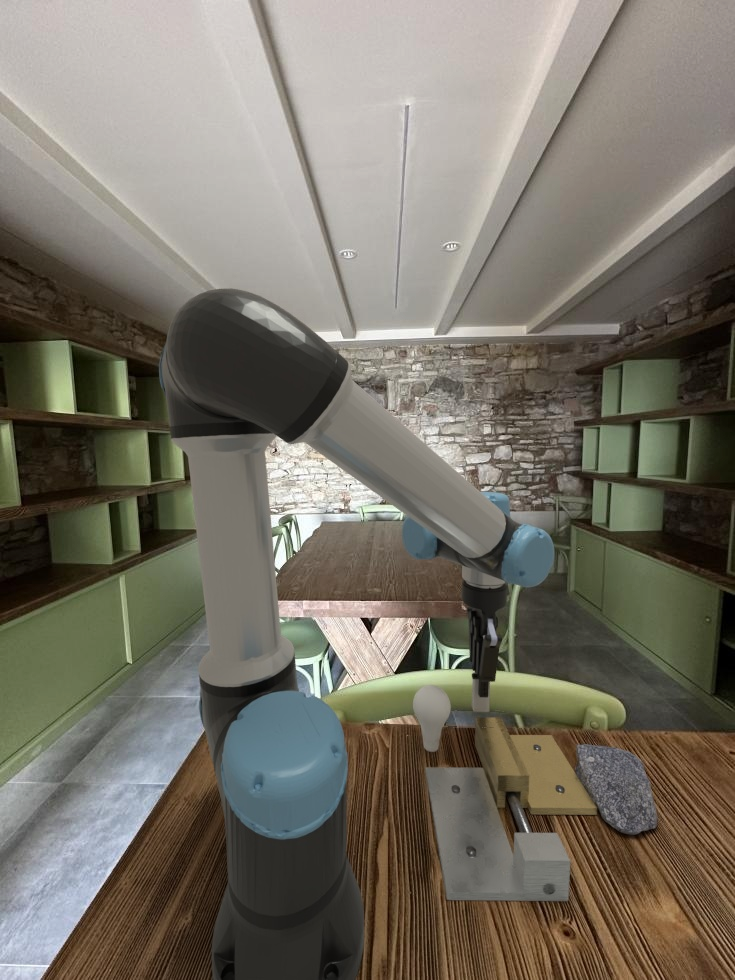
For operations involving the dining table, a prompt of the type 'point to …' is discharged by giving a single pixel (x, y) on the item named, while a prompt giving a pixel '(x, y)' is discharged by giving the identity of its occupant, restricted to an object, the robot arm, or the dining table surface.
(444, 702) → the lightbulb
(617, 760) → the rock
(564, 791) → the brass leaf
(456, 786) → the zinc leaf
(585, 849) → the dining table surface
